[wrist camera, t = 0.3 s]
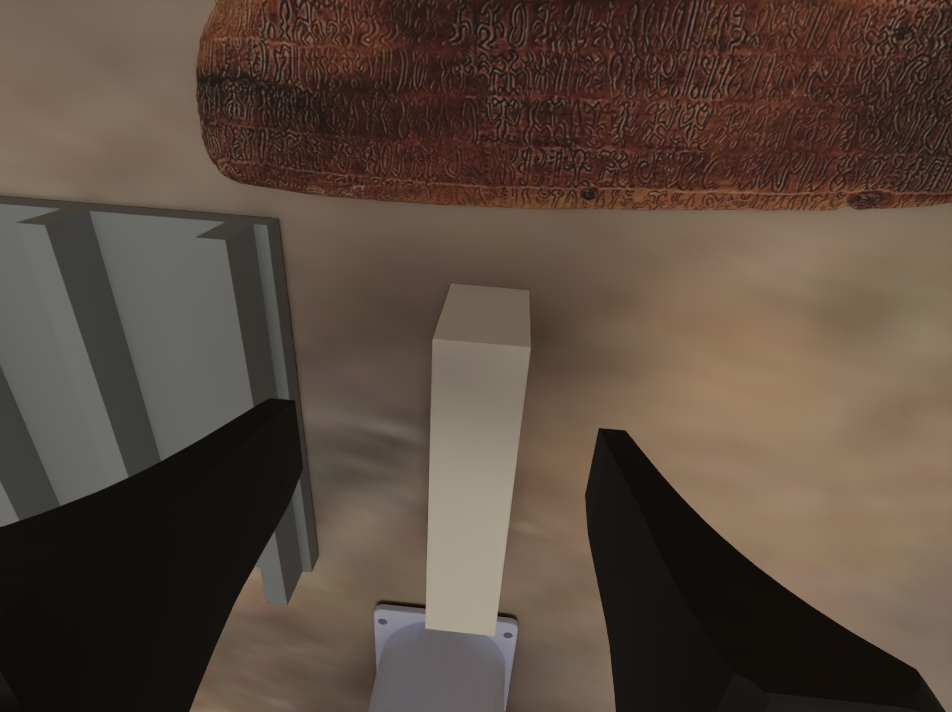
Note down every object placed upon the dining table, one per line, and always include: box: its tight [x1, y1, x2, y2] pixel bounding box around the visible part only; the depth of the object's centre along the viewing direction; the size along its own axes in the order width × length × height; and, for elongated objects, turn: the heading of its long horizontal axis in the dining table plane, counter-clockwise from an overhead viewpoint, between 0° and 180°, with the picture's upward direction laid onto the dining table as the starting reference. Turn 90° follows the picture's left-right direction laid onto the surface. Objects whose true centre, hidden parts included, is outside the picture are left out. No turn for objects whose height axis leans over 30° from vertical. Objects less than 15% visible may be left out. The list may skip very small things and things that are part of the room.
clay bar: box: [425, 283, 531, 636], centre depth 22 cm, size 14×3×5 cm, turn 177°
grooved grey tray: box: [0, 196, 318, 605], centre depth 23 cm, size 18×14×3 cm
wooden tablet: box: [196, 0, 952, 210], centre depth 16 cm, size 26×2×10 cm
